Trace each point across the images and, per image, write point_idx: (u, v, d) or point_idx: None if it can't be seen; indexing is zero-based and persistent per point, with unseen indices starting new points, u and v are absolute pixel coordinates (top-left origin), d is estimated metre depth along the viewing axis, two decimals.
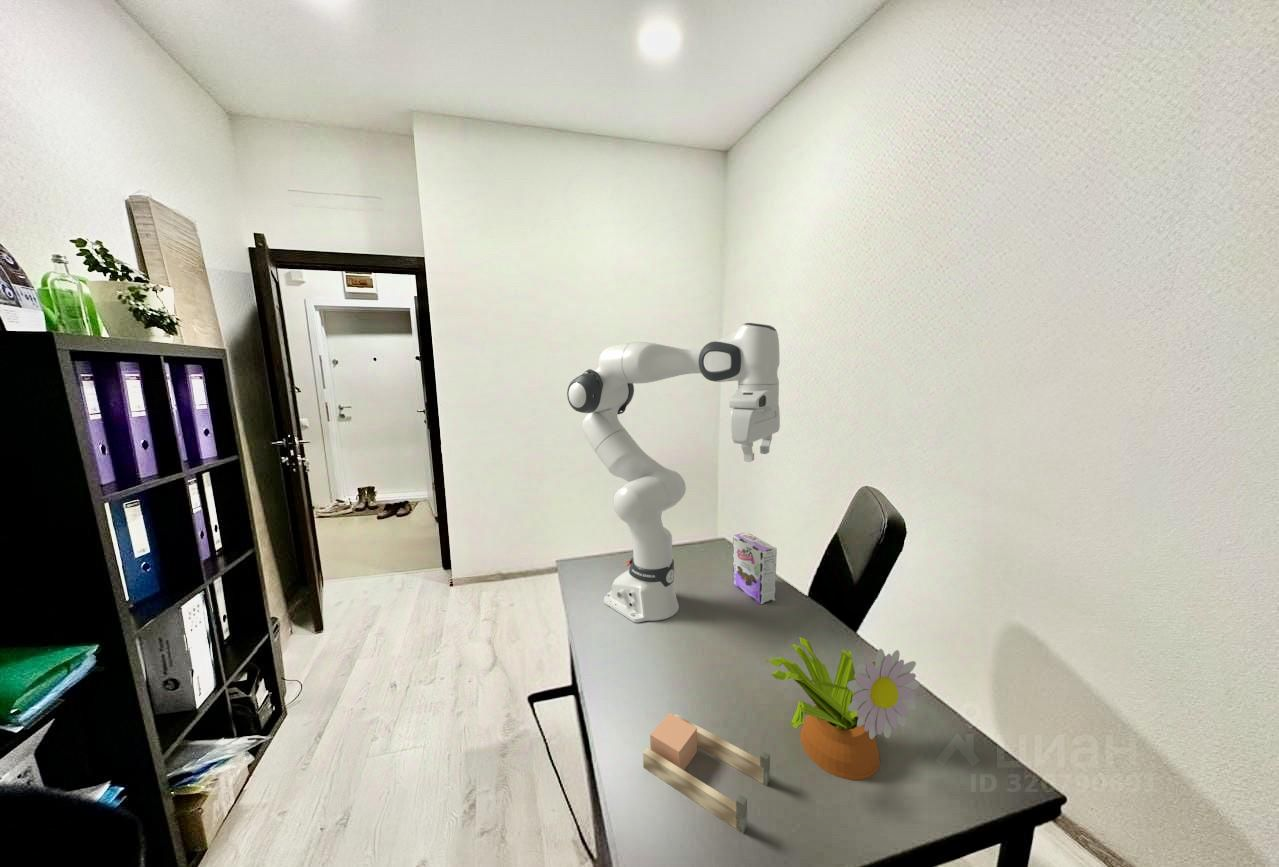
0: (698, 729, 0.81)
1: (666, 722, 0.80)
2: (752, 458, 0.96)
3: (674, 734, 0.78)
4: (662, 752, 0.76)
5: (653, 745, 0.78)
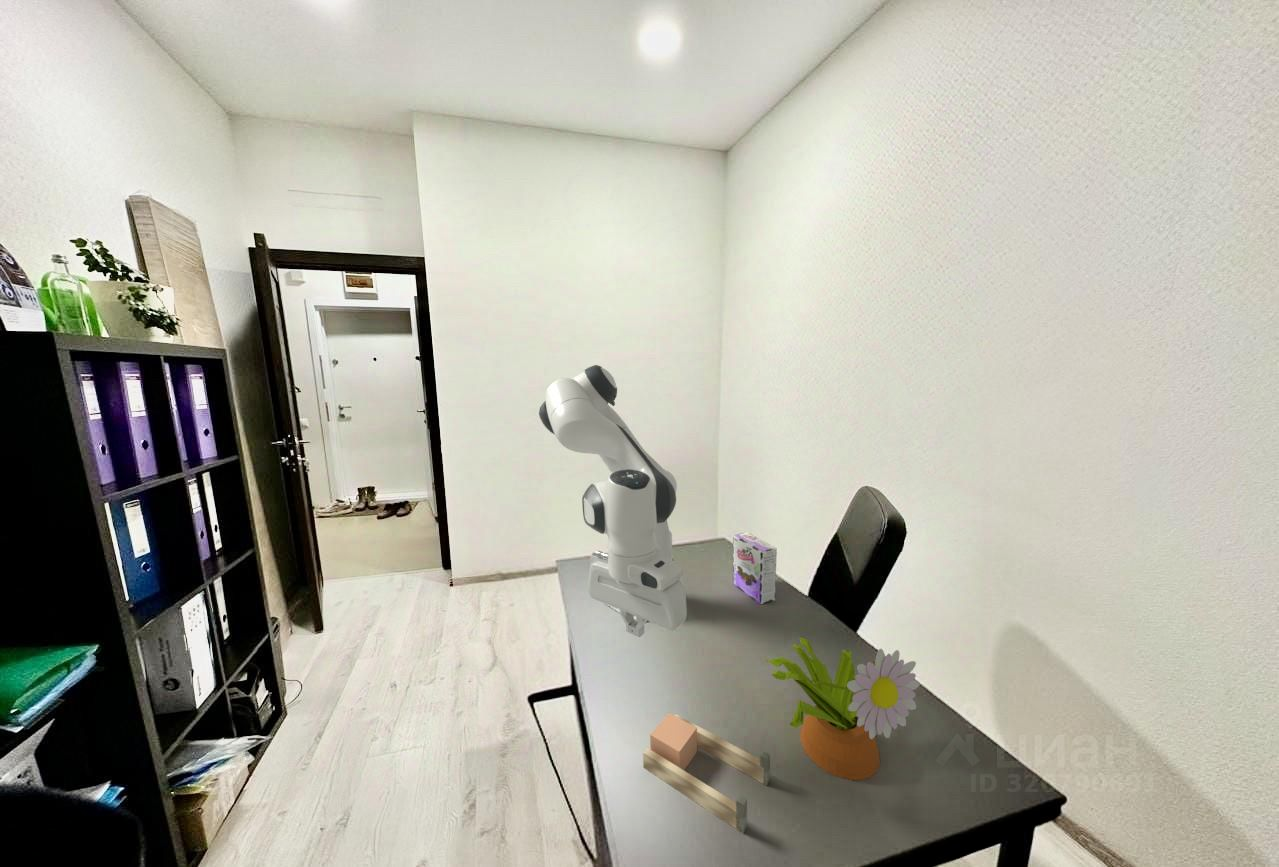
0: (698, 729, 0.81)
1: (666, 722, 0.80)
2: None
3: (674, 734, 0.78)
4: (662, 752, 0.76)
5: (653, 745, 0.78)
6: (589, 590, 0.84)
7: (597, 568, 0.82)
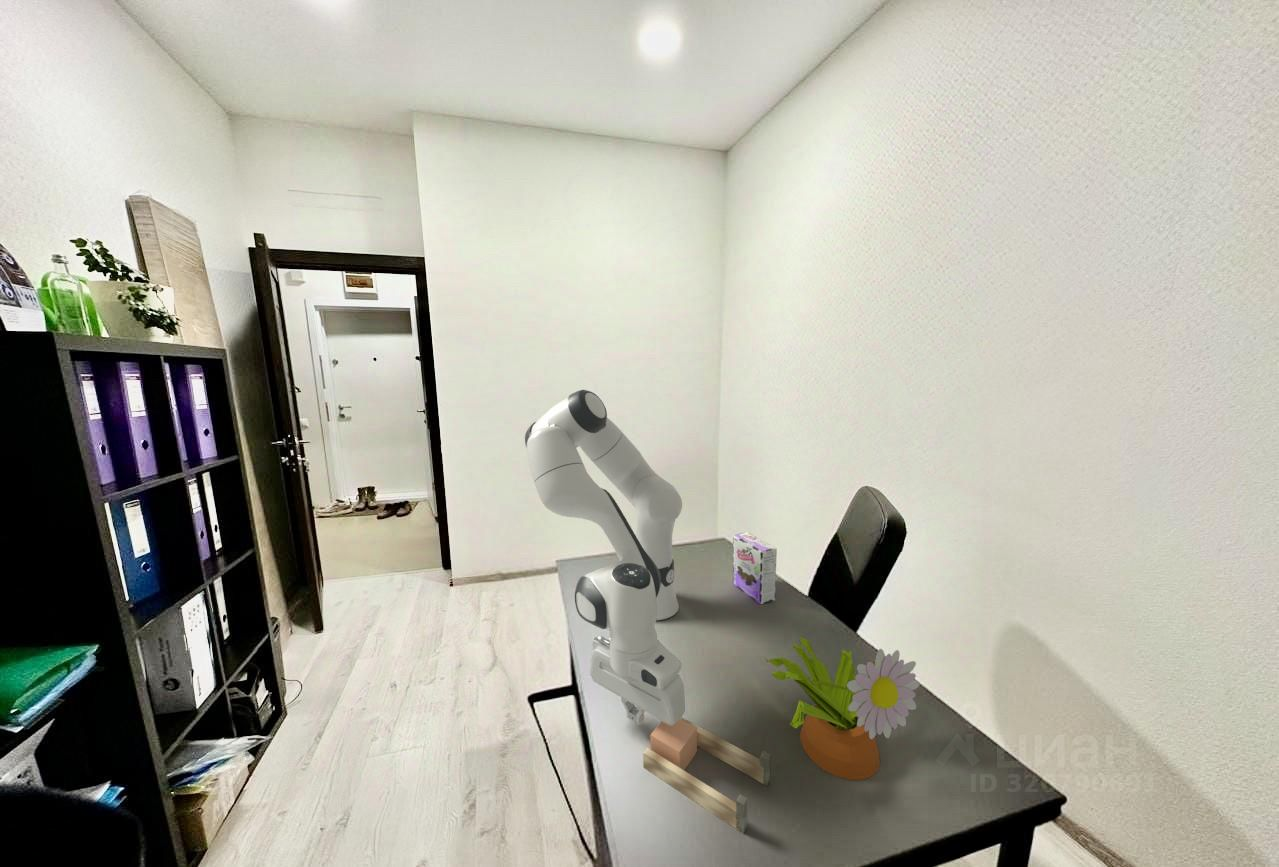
0: (698, 729, 0.81)
1: None
2: None
3: (675, 734, 0.78)
4: (662, 752, 0.76)
5: (653, 745, 0.78)
6: (591, 674, 0.87)
7: (599, 655, 0.84)
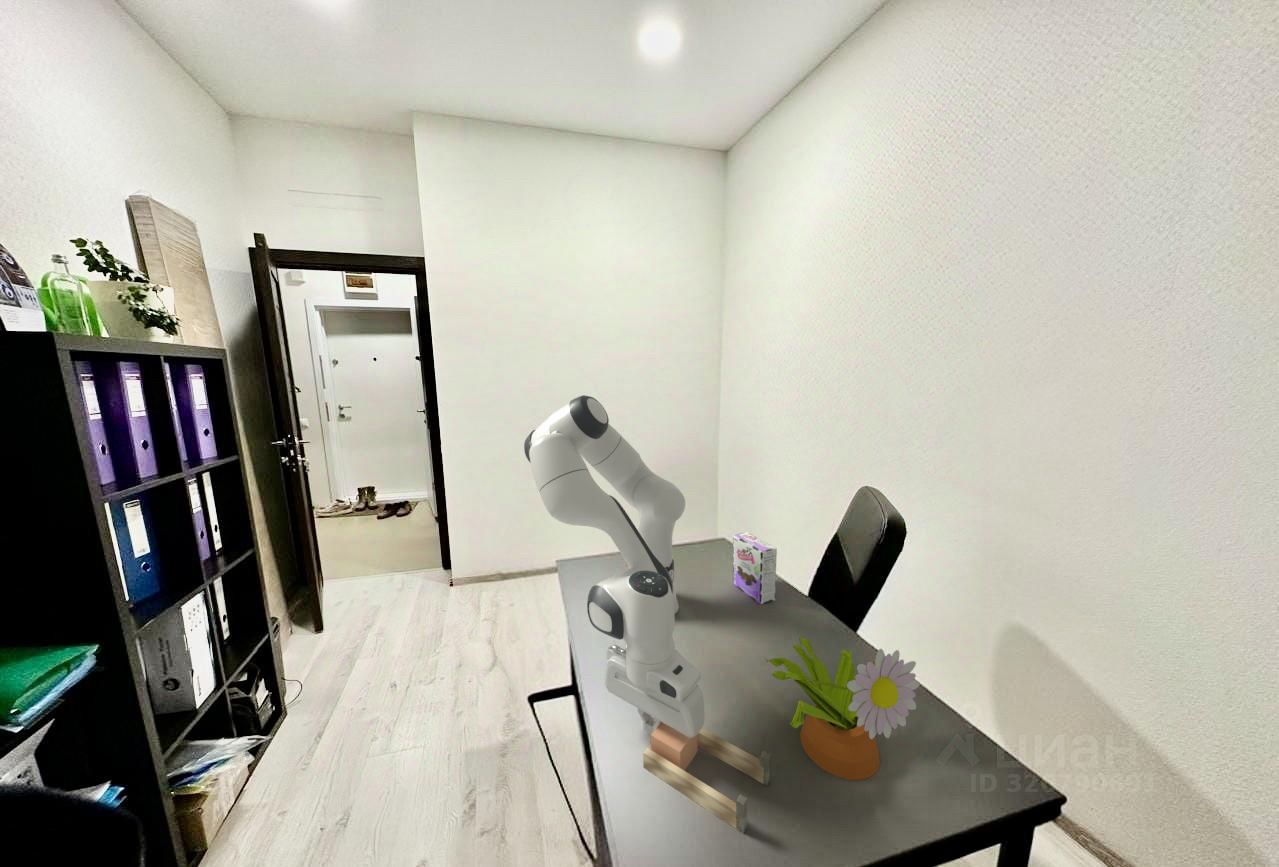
0: None
1: None
2: None
3: (675, 734, 0.77)
4: (663, 753, 0.76)
5: (653, 745, 0.77)
6: (606, 684, 0.84)
7: (614, 664, 0.82)
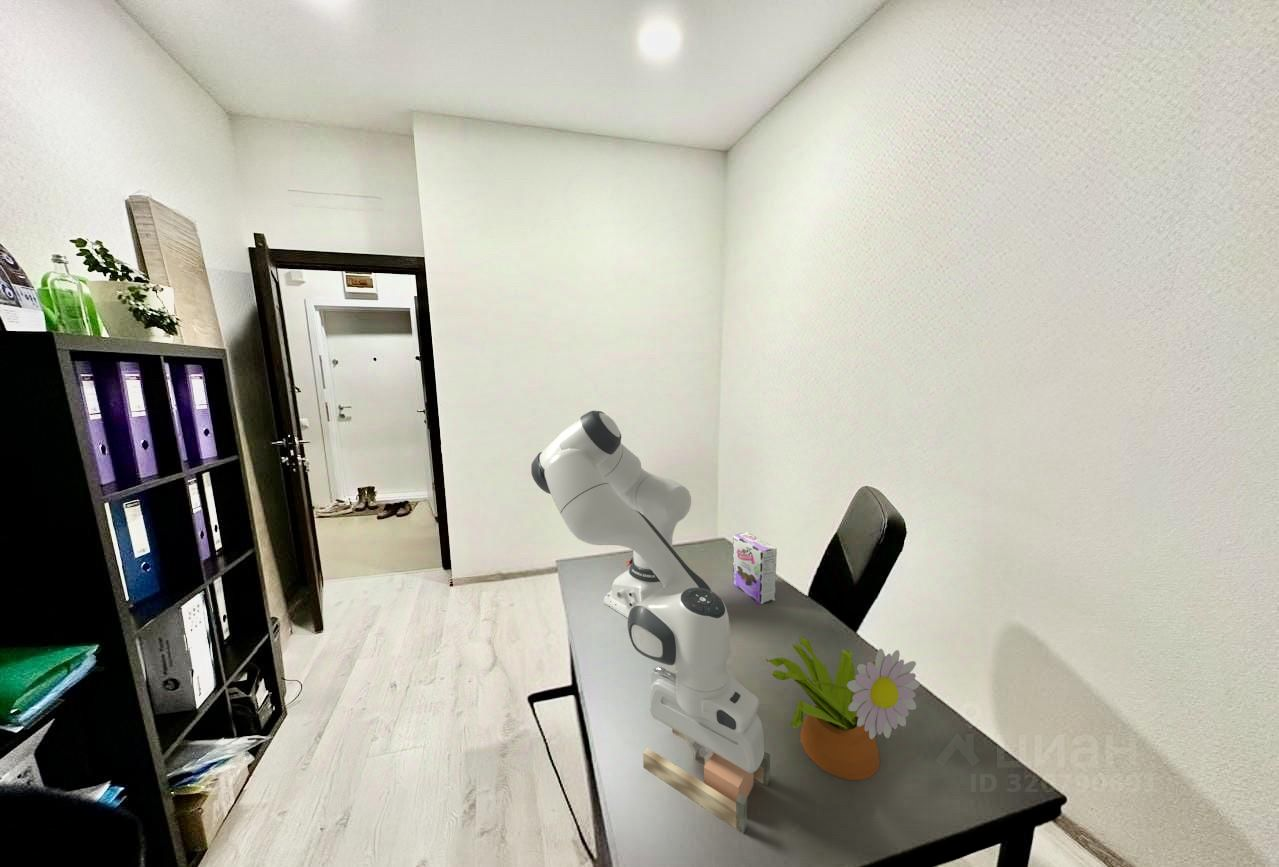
0: None
1: None
2: None
3: (730, 766, 0.71)
4: (718, 787, 0.70)
5: (707, 778, 0.71)
6: (650, 709, 0.78)
7: (661, 689, 0.76)
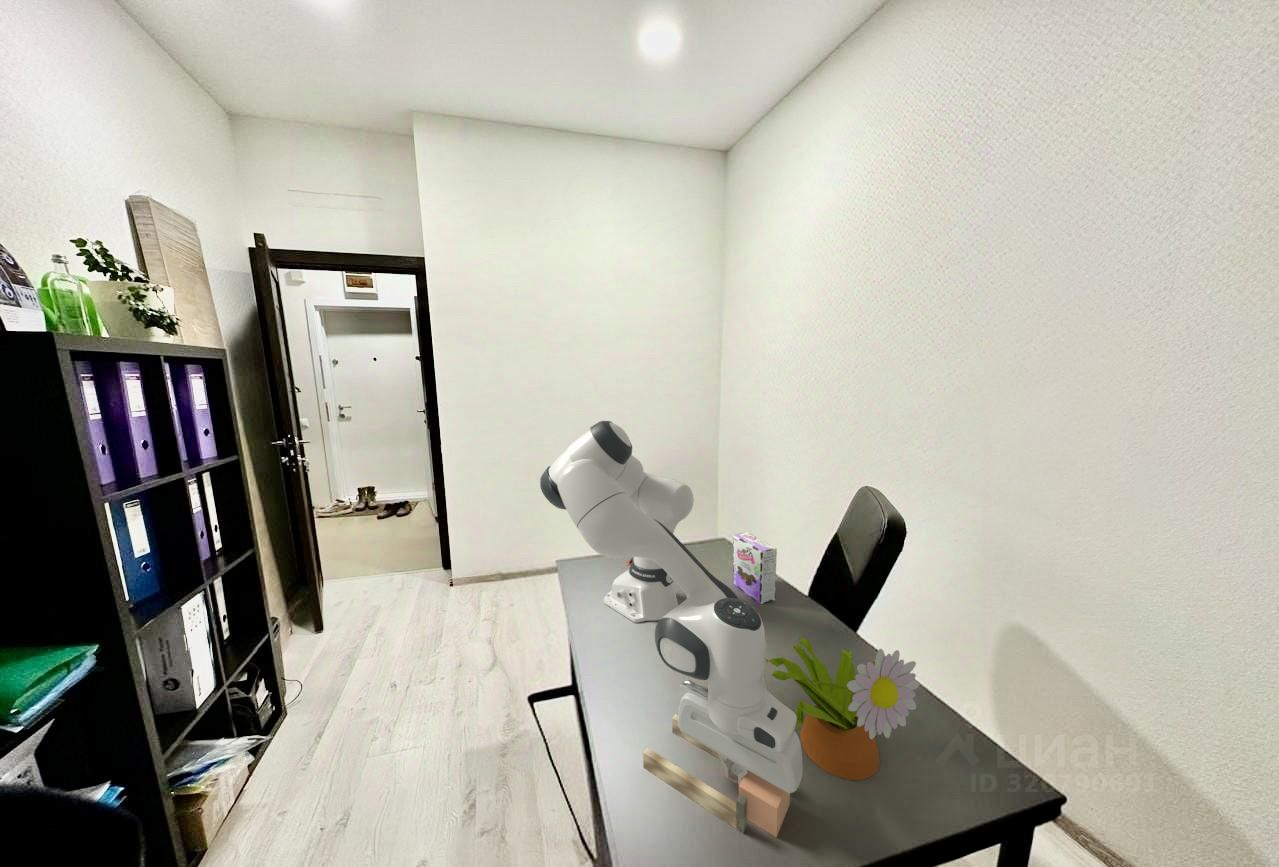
0: None
1: None
2: None
3: (767, 785, 0.68)
4: (754, 807, 0.66)
5: None
6: (679, 724, 0.75)
7: (691, 703, 0.72)
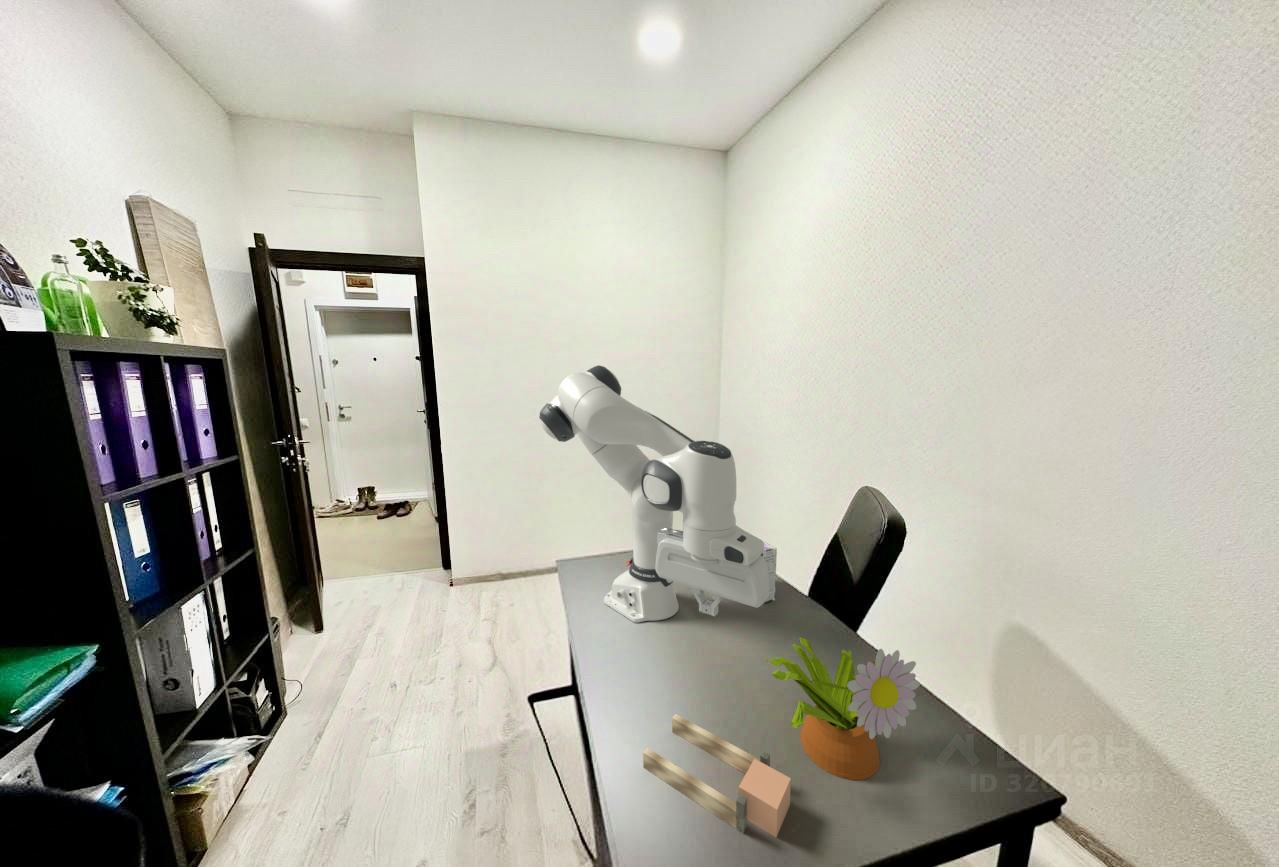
0: (698, 729, 0.81)
1: (754, 770, 0.70)
2: None
3: (767, 786, 0.68)
4: (754, 808, 0.66)
5: None
6: (657, 569, 0.80)
7: (667, 545, 0.78)
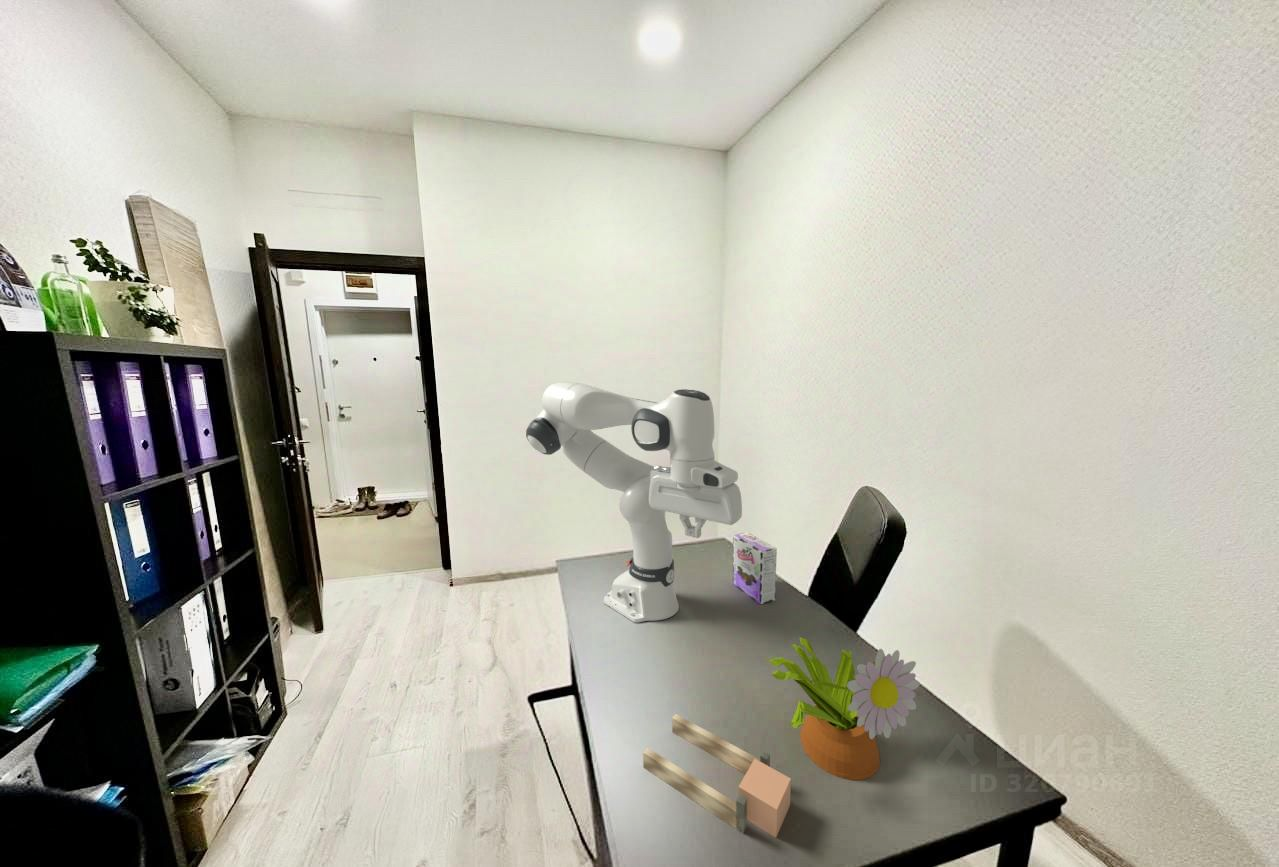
0: (698, 729, 0.81)
1: (754, 770, 0.70)
2: None
3: (767, 786, 0.68)
4: (754, 808, 0.66)
5: None
6: (650, 501, 0.94)
7: (658, 479, 0.92)
